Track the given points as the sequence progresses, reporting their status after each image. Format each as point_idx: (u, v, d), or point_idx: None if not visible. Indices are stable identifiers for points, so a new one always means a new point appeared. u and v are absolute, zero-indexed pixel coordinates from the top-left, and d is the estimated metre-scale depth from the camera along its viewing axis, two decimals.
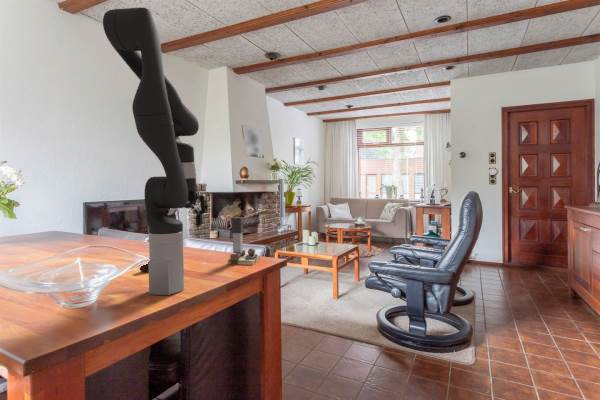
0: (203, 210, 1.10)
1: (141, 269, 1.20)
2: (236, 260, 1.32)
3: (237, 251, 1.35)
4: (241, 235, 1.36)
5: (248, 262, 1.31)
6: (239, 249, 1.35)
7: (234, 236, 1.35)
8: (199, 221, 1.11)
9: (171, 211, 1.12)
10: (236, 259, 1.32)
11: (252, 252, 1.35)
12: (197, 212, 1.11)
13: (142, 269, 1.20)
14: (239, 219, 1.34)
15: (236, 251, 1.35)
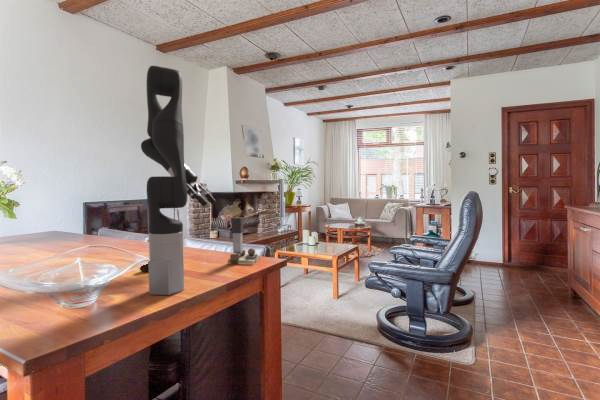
0: (209, 191, 1.44)
1: (141, 269, 1.20)
2: (236, 260, 1.32)
3: (237, 251, 1.35)
4: (241, 235, 1.36)
5: (248, 262, 1.31)
6: (239, 249, 1.35)
7: (234, 236, 1.35)
8: None
9: (199, 193, 1.33)
10: (236, 259, 1.32)
11: (252, 252, 1.35)
12: (208, 192, 1.42)
13: (142, 269, 1.20)
14: (239, 219, 1.34)
15: (236, 251, 1.35)
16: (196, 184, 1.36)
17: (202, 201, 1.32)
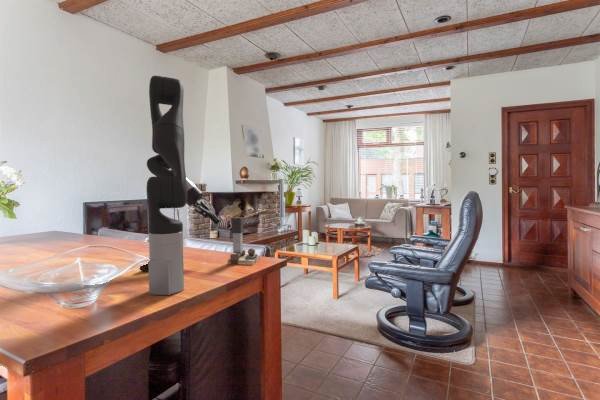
0: (214, 210, 1.40)
1: (141, 269, 1.20)
2: (236, 260, 1.32)
3: (237, 251, 1.35)
4: (241, 235, 1.36)
5: (248, 262, 1.31)
6: (239, 249, 1.35)
7: (234, 236, 1.35)
8: (217, 218, 1.38)
9: (211, 212, 1.37)
10: (236, 259, 1.32)
11: (252, 252, 1.35)
12: (213, 212, 1.38)
13: (142, 269, 1.20)
14: (239, 219, 1.34)
15: (236, 251, 1.35)
16: (203, 202, 1.36)
17: (215, 219, 1.36)
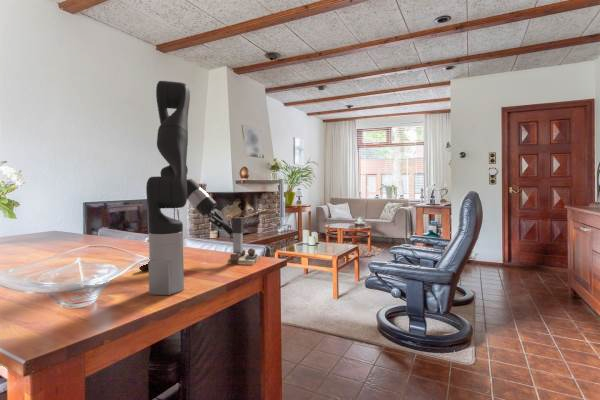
0: (227, 220, 1.40)
1: (141, 268, 1.21)
2: (236, 260, 1.32)
3: (237, 251, 1.35)
4: (241, 235, 1.36)
5: (248, 262, 1.31)
6: (239, 249, 1.35)
7: (234, 236, 1.35)
8: None
9: (225, 222, 1.36)
10: (236, 259, 1.32)
11: (252, 252, 1.35)
12: (226, 222, 1.38)
13: (142, 268, 1.20)
14: (239, 219, 1.34)
15: (236, 251, 1.35)
16: (217, 212, 1.35)
17: (228, 230, 1.35)
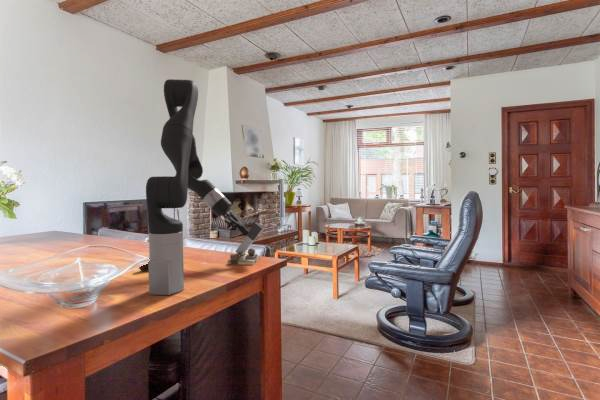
0: (242, 221, 1.39)
1: (140, 268, 1.21)
2: (236, 260, 1.32)
3: (239, 252, 1.35)
4: (252, 241, 1.36)
5: (248, 262, 1.31)
6: (242, 252, 1.35)
7: (246, 239, 1.35)
8: None
9: (240, 223, 1.36)
10: (236, 259, 1.32)
11: (252, 252, 1.35)
12: (241, 223, 1.37)
13: (141, 268, 1.21)
14: (260, 228, 1.33)
15: (239, 252, 1.35)
16: (232, 213, 1.35)
17: (244, 231, 1.35)
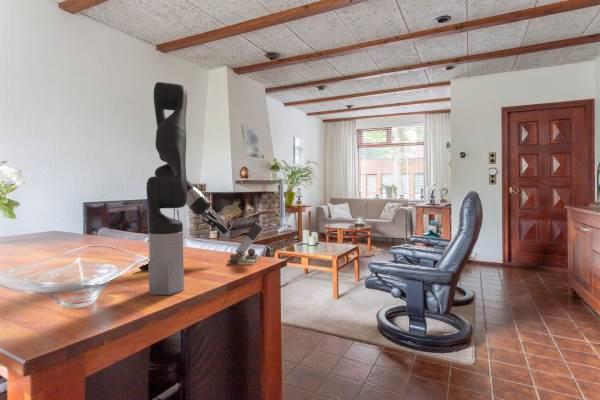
0: (222, 220, 1.40)
1: (140, 268, 1.21)
2: (236, 260, 1.32)
3: (239, 252, 1.35)
4: (252, 241, 1.36)
5: (248, 262, 1.31)
6: (242, 252, 1.35)
7: (246, 239, 1.35)
8: None
9: (219, 221, 1.37)
10: (236, 259, 1.32)
11: (252, 252, 1.35)
12: (220, 221, 1.38)
13: (141, 268, 1.21)
14: (260, 228, 1.33)
15: (239, 252, 1.35)
16: (211, 211, 1.36)
17: (222, 229, 1.36)
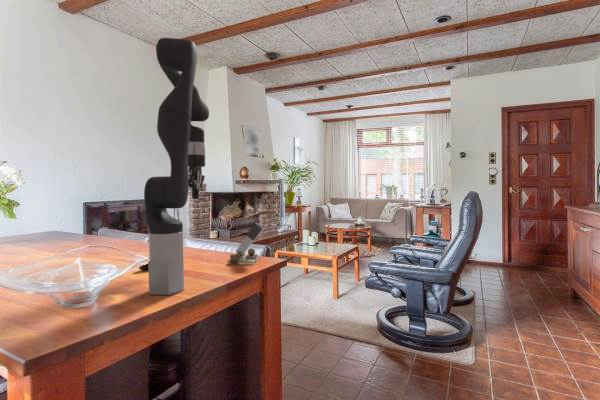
0: (201, 185, 1.38)
1: (140, 268, 1.22)
2: (236, 260, 1.32)
3: (239, 252, 1.35)
4: (252, 241, 1.36)
5: (248, 262, 1.31)
6: (242, 252, 1.35)
7: (246, 239, 1.35)
8: None
9: (198, 186, 1.34)
10: (236, 259, 1.32)
11: (252, 252, 1.35)
12: (199, 186, 1.35)
13: (141, 268, 1.22)
14: (260, 228, 1.33)
15: (239, 252, 1.35)
16: (198, 173, 1.33)
17: (194, 194, 1.34)
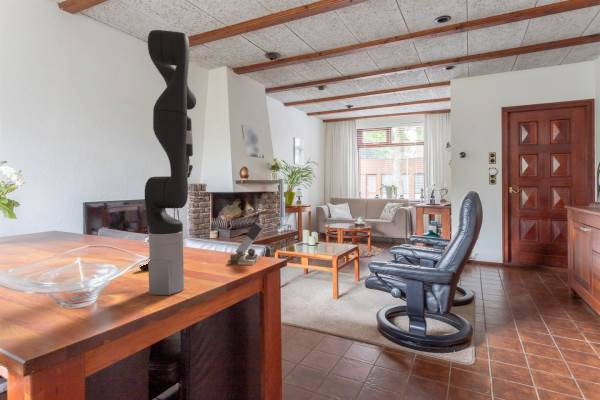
0: (189, 175, 1.35)
1: (140, 267, 1.22)
2: (236, 260, 1.32)
3: (239, 252, 1.35)
4: (252, 241, 1.36)
5: (248, 262, 1.31)
6: (242, 252, 1.35)
7: (246, 239, 1.35)
8: None
9: None
10: (236, 259, 1.32)
11: (252, 252, 1.35)
12: (186, 176, 1.32)
13: (141, 268, 1.22)
14: (260, 228, 1.33)
15: (239, 252, 1.35)
16: (185, 162, 1.30)
17: None
